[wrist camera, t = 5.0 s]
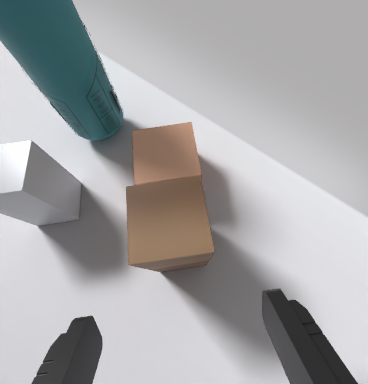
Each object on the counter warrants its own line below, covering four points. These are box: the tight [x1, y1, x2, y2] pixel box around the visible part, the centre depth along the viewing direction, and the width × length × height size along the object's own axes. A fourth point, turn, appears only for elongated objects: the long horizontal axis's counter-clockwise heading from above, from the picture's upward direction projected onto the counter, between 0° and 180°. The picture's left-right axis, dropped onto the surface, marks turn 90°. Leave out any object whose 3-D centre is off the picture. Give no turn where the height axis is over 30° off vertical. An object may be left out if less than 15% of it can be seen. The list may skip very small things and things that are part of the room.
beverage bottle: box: [0, 0, 123, 141], centre depth 18 cm, size 6×7×20 cm
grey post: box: [0, 140, 81, 226], centre depth 20 cm, size 4×4×8 cm
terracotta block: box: [132, 122, 202, 185], centre depth 22 cm, size 6×6×5 cm
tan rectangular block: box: [126, 176, 215, 272], centre depth 16 cm, size 4×4×10 cm
